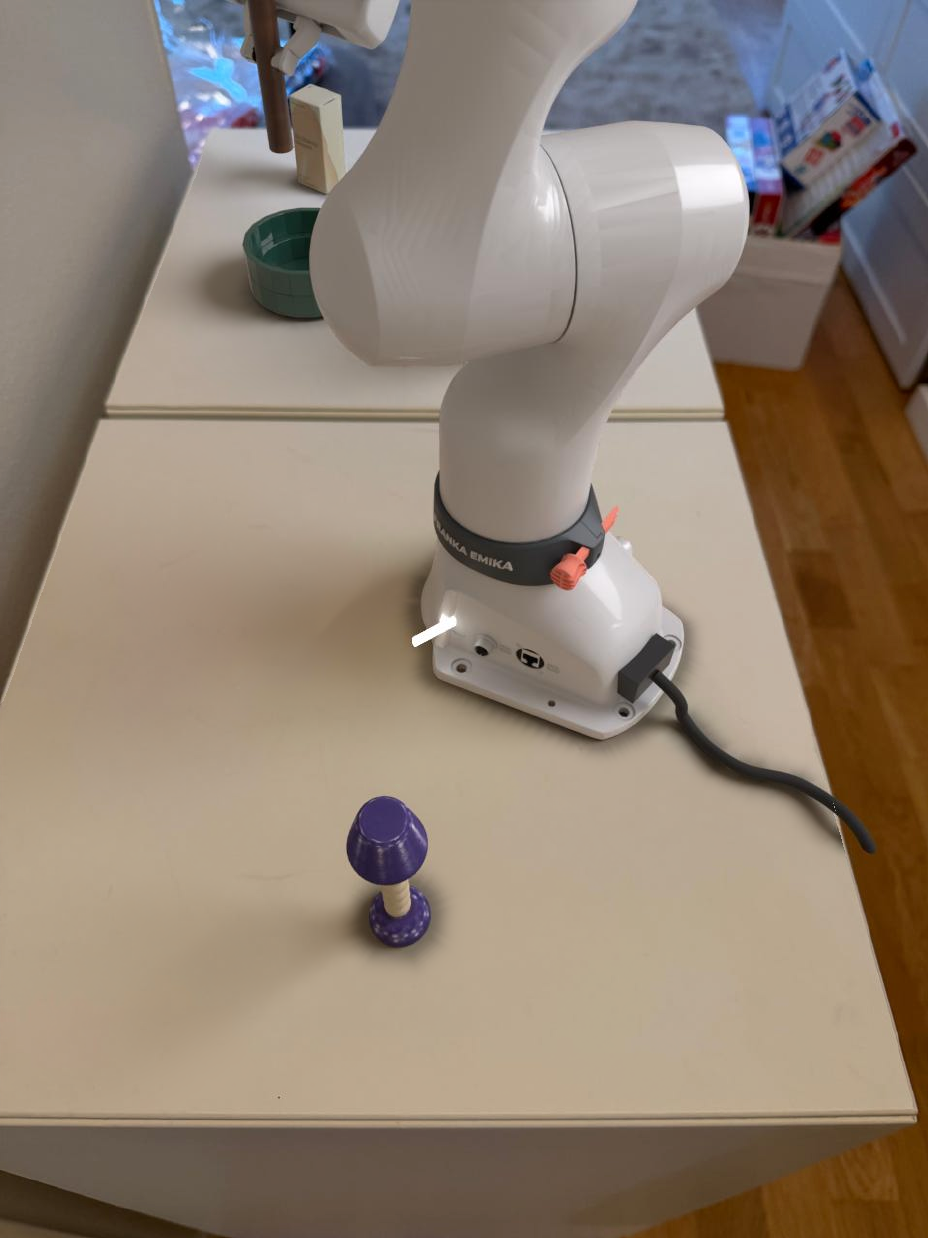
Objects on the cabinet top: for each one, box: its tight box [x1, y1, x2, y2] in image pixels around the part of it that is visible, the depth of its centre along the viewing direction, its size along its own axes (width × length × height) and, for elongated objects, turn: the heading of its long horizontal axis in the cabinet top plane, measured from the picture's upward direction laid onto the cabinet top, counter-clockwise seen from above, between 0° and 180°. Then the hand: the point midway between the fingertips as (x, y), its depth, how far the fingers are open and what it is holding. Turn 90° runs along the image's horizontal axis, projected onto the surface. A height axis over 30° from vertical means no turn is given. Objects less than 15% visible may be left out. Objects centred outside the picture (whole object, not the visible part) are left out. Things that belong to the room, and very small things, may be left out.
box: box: [288, 83, 347, 195], centre depth 117 cm, size 5×4×11 cm
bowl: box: [241, 207, 323, 318], centre depth 105 cm, size 13×13×6 cm
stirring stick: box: [247, 0, 295, 155], centre depth 86 cm, size 2×2×14 cm
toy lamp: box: [345, 795, 432, 948], centre depth 56 cm, size 5×5×17 cm
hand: (265, 66), depth 85 cm, fingers closed on stirring stick, 2 cm apart
